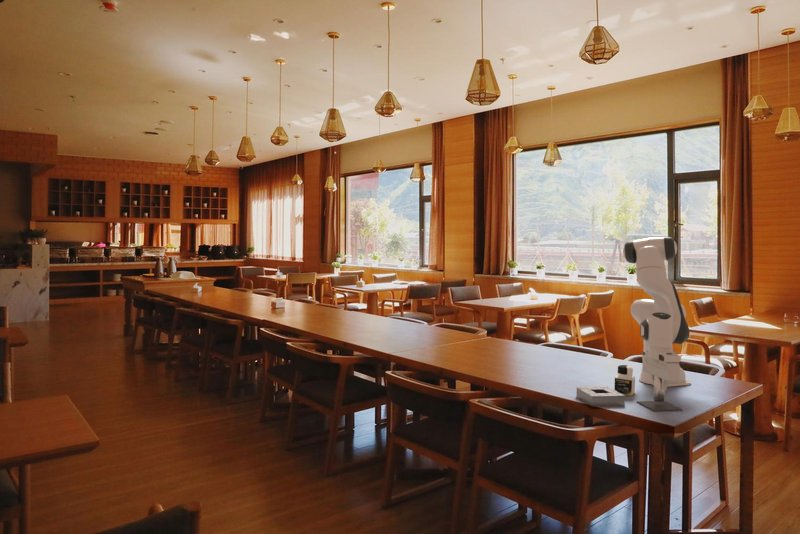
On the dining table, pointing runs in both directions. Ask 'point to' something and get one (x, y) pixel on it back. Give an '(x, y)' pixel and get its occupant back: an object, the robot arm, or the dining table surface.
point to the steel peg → (658, 390)
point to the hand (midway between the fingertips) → (659, 387)
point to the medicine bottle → (625, 380)
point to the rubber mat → (658, 406)
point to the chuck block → (600, 396)
